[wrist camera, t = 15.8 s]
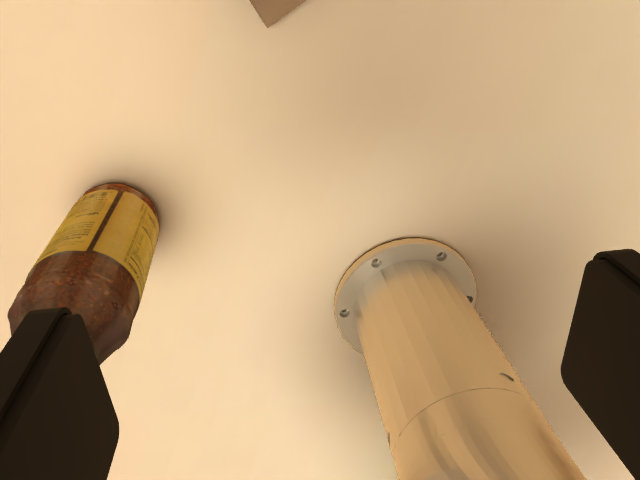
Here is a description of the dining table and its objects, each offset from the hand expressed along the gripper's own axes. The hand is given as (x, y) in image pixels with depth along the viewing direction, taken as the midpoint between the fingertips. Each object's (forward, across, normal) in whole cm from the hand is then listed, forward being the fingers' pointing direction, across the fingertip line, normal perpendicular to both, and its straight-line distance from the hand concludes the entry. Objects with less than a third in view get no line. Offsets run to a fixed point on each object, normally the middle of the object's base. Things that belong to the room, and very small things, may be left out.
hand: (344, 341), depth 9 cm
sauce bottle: (+28, +13, +10) cm, 33 cm away
